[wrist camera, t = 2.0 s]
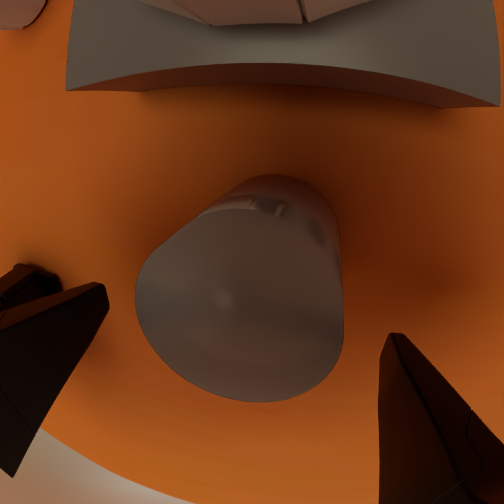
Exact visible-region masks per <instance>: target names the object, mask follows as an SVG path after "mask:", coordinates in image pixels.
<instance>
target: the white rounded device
mask: <svg viewBox="0 0 504 504" xmlns="http://www.w3.org/2000/svg"><path fill="white" fill-rule="evenodd" d="M45 2H46V0H0V30H20V29H21V28H22V27H23V26H27V25H28V24H30V23H31V22H32V21H33V20H34V19H35V18H36V16H37V15H38V14H39V12H40V11H41V9H42V8H43V6H44V4H45Z"/></svg>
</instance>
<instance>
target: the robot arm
mask: <svg viewBox="0 0 504 504" xmlns="http://www.w3.org/2000/svg"><path fill="white" fill-rule="evenodd" d="M108 311H109V300H108V296H107V292H106V288H105V286H104V285H103V284H102V283H98V282H91V283H88V284H85V285H81V286H78V287H75V288H72V289H69V290H66V291H63V292H62V289H61V286H60V283H59V280H58V278H57V277H56V276H55V275H53V274H50V273H47V272H43V271H40V270H37V269H33V268H30V267H27V266H24V265H21V264H16V265H14V266H13V270H11V271H10V272H8V273H7V274H5V275H4V276H2V277H1V278H0V468H1V469H2V470H3V471H4V472H5V473H7V474H8V475H9V476H10V477H11V478H13V477H14V476H15V474H16V472H17V470H18V468H19V466H20V464H21V461H22V460H23V458H24V456H25V454H26V452H27V450H28V448H29V446H30V444H31V442H32V440H33V438H34V437H35V434H36V433H37V431H38V429H39V427H40V426H41V424H42V422H43V420H44V418H45V417H46V415H47V413H48V411H49V410H50V408H51V406H52V405H53V403H54V401H55V400H56V398H57V396H58V395H59V393H60V391H61V390H62V388H63V386H64V385H65V383H66V381H67V380H68V378H69V377H70V375H71V373H72V372H73V370H74V369H75V367H76V366H77V364H78V362H79V361H80V359H81V358H82V356H83V355H84V353H85V352H86V350H87V349H88V347H89V345H90V344H91V342H92V340H93V338H94V337H95V335H96V333H97V331H98V329H99V327H100V325H101V324H102V322H103V320H104V318H105V316H106V315H107V313H108ZM378 421H379V458H380V472H379V504H504V444H503V443H502V442H501V441H500V440H499V439H498V438H497V437H496V436H495V435H494V434H493V433H492V432H491V431H490V429H489V428H488V427H487V426H486V425H485V424H484V423H483V421H482V420H481V419H480V418H479V417H478V416H477V415H476V413H475V412H474V411H473V410H471V408H470V406H469V405H468V404H467V403H466V402H465V401H464V399H463V398H462V397H461V396H460V395H459V394H458V393H457V391H456V390H455V389H454V388H453V387H452V386H451V385H450V384H449V382H448V381H447V380H446V379H445V378H444V377H443V376H442V375H441V374H440V372H439V371H438V370H437V369H436V368H435V367H434V366H433V365H432V364H431V363H430V361H429V360H428V359H427V358H426V357H425V356H424V355H423V354H422V353H421V352H420V351H419V350H418V349H417V347H416V346H415V345H414V344H413V343H412V342H411V341H410V340H409V339H408V338H407V337H406V336H405V335H404V334H402V333H393V332H392V333H390V334H389V335H388V337H387V339H386V342H385V345H384V347H383V350H382V353H381V356H380V368H379V393H378Z"/></svg>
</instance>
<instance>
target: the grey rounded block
mask: <svg viewBox="0 0 504 504" xmlns="http://www.w3.org/2000/svg"><path fill="white" fill-rule="evenodd" d="M135 306H136V313H137V316H138V320H139V323H140V326H141V328H142V330H143V333H144V335H145V336H146V338H147V340H148V342H149V343H150V345H151V346H152V348H153V349H154V351H155V352H156V353H157V354H158V355H159V357H160V358H161V359H162V360H163V361H164V362H165V363H166V364H167V365H168V366H169V367H170V368H171V369H172V370H174V371H175V372H176V373H177V374H179V375H180V376H181V377H183V378H184V379H186V380H187V381H189V382H190V383H192V384H194V385H196V386H197V387H199V388H201V389H204V390H206V391H208V392H210V393H213V394H216V395H219V396H222V397H225V398H229V399H233V400H239V401H246V402H273V401H280V400H285V399H289V398H292V397H295V396H298V395H300V394H302V393H304V392H307V391H308V390H310V389H312V388H313V387H315V386H316V385H318V384H319V383H320V382H321V381H322V380H323V379H325V378H326V376H327V375H328V374H329V373H330V372H331V371H332V369H333V367H334V366H335V364H336V362H337V361H338V358H339V356H340V353H341V350H342V345H343V339H344V320H343V290H342V270H341V255H340V241H339V230H338V225H337V221H336V218H335V215H334V213H333V211H332V209H331V207H330V206H329V204H328V203H327V201H326V200H325V199H324V198H323V197H322V196H321V194H320V193H319V192H317V191H316V190H315V189H314V188H312V187H311V186H309V185H308V184H306V183H304V182H302V181H300V180H298V179H296V178H292V177H289V176H284V175H272V174H269V175H260V176H257V177H253V178H250V179H248V180H245V181H243V182H242V183H240V184H238V185H237V186H235V187H234V188H233V189H231V190H230V191H229V192H227V193H226V194H225V195H223V196H222V197H221V198H219V199H218V200H217V201H215V202H214V203H213V204H212V205H210V206H209V207H208V208H206V209H205V210H204V211H202V212H201V213H200V214H199V215H197V216H196V217H195V218H194V219H192V220H191V221H190V222H188V223H187V224H186V225H185V226H183V227H182V228H181V229H180V230H178V231H177V232H176V233H175V234H173V235H172V236H171V237H170V238H168V239H167V240H166V241H165V242H164V243H162V244H161V245H160V246H159V247H158V248H157V249H155V250H154V251H153V252H152V253H151V254H150V256H149V257H148V258H147V259H146V261H145V262H144V264H143V266H142V268H141V270H140V272H139V275H138V278H137V281H136V288H135Z"/></svg>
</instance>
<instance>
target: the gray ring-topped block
mask: <svg viewBox="0 0 504 504" xmlns="http://www.w3.org/2000/svg"><path fill="white" fill-rule="evenodd" d="M217 84H284V85H302V86H315V87H326V88H336V89H344V90H352V91H359V92H366V93H372V94H378V95H384V96H389V97H395V98H400V99H405V100H409V101H414V102H418V103H423V104H427V105H431V106H435V107H439V108H442V109H443V108H461V107H500V93H501V83H500V56H499V43H498V34H497V25H496V18H495V12H494V6H493V0H74V5H73V11H72V18H71V25H70V34H69V43H68V54H67V69H66V91H89V90H97V91H132V92H141V91H148V90H156V89H165V88H174V87H185V86H198V85H217Z"/></svg>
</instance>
